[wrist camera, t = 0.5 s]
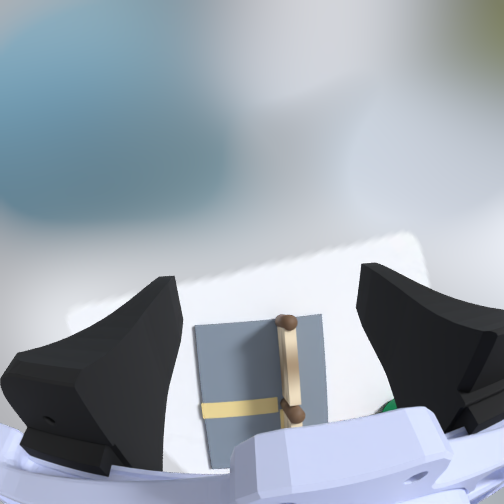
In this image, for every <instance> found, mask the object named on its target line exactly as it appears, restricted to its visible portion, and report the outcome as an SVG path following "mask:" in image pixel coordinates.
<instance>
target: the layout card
mask: <svg viewBox="0 0 504 504" xmlns="http://www.w3.org/2000/svg"><path fill="white" fill-rule="evenodd" d="M296 319H297V321H298V324H297V327H296V337H297V349H298V363H299V377H300V392H301V405H299V406H300V407H301V408H302V410H303V411H304V412H305V415H306V416H305V419H304V421H303V422H302V426H310V425H317V424H324V423H328V406H327V384H326V366H325V351H324V337H323V324H322V314H317V315H309V316H300V317H296ZM195 332H196V343H197V354H198V364H199V373H200V382H201V391H202V400H203V403H201V406H202V414H203V419H205V423H206V431H207V438H208V445H209V452H210V458H211V465H212V469H222V468H230V458H231V455H232V453H233V450H234V447H236V446H237V445H239V444H240V443H242V442H244V441H246V440H248V439H249V438H251V437H253V436H255V435H256V434H260V433H265V432H270V431H274V430H279V429H283V428H284V414H283V409H282V408H281V406H280V402H281V400H282V399H283V398H284V397H283V395H282V381H281V368H280V356H279V343H278V331H277V326H276V324H275V319H271V320H260V321H249V322H237V323H223V324H208V325H195Z"/></svg>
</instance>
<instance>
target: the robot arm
mask: <svg viewBox="0 0 504 504" xmlns="http://www.w3.org/2000/svg"><path fill="white" fill-rule="evenodd" d="M356 309H357V312H358V315H359V318H360V321H361V324H362V327H363V329H364V331H365V333H366V335H367V337H368V339H369V341H370V343H371V345H372V347H373V349H374V350H375V352H376V354H377V356H378V358H379V360H380V362H381V364H382V366H383V368H384V371H385V373H386V375H387V378H388V381H389V384H390V387H391V390H392V393H393V396H394V399H395V403H396V406H397V409H395V410H391V411H387V412H383V413H378V414H374V415H369V416H364V417H359V418H354V419H349V420H343V421H337V422H331V423H324V424H317V425H310V426H302V427H293V428H283V429H279V430H274V431H270V432H265V433H260V434H256V435H255V436H253V437H251V438H249V439H248V440H246V441H244V442H242V443H240V444H239V445H237V446H236V447H234V450H233V453H232V455H231V458H230V473H228V474H189V473H173V472H163V436H164V423H165V412H166V403H167V395H168V390H169V385H170V381H171V377H172V373H173V369H174V365H175V362H176V358H177V354H178V350H179V346H180V342H181V336H182V327H183V316H182V311H181V306H180V301H179V296H178V291H177V286H176V280H175V276H163V277H158V278H157V279H155V280H154V281H153V282H151V283H150V284H149V285H148V286H146V287H145V288H144V289H143V290H142V291H140V292H139V293H138V294H137V295H135V296H134V297H133V298H132V299H130V300H129V301H128V302H126V303H125V304H124V305H122V306H121V307H120V308H118V309H117V310H116V311H114V312H113V313H111V314H110V315H108V316H107V317H105V318H104V319H102V320H101V321H99V322H97V323H95V324H94V325H92V326H90V327H88V328H86V329H84V330H82V331H80V332H78V333H76V334H74V335H72V336H70V337H68V338H65V339H62V340H60V341H58V342H54V343H52V344H49V345H46V346H43V347H39V348H35V349H32V350H28V351H24V352H19V353H17V354H16V356H15V357H14V359H13V360H12V362H11V363H10V365H9V366H8V368H7V369H6V371H5V372H4V374H3V375H2V377H1V379H0V385H1V388H2V391H3V394H4V396H5V397H6V399H7V401H8V402H9V404H10V405H11V406H12V407H13V409H14V410H15V412H16V413H17V414H18V415H19V417H20V418H21V419H22V421H23V422H24V423H25V424H26V426H27V429H26V431H25V433H24V434H23V433H22V432H21V431H19V430H18V429H15V428H13V427H10V426H8V425H5V424H2V423H0V501H1V502H2V503H3V504H478V503H479V502H481V501H482V500H484V499H486V498H487V497H489V496H490V495H492V494H493V493H495V492H497V491H498V490H500V489H501V488H503V487H504V310H501V309H496V308H489V307H484V306H480V305H475V304H472V303H468V302H465V301H461V300H458V299H455V298H452V297H449V296H446V295H444V294H441V293H439V292H437V291H434V290H432V289H430V288H428V287H425V286H423V285H421V284H419V283H417V282H415V281H413V280H411V279H409V278H407V277H405V276H403V275H401V274H399V273H397V272H395V271H394V270H392V269H390V268H387V267H385V266H383V265H381V264H378V263H365V264H361V273H360V281H359V289H358V296H357V303H356Z"/></svg>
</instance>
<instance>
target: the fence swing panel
mask: <svg viewBox="0 0 504 504" xmlns="http://www.w3.org/2000/svg"><path fill="white" fill-rule="evenodd" d="M275 324H276V326H277V331H278V343H279V356H280V368H281V381H282V395H283V397H284V398H285V400H286V401H287V403H288V404H289V405H290V406H295V405H301V392H300V377H299V363H298V349H297V337H296V327H297V324H298V321H297V319H296V317H295V316H293V315H282V314H281V315H278V316H277V317H276V319H275Z"/></svg>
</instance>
